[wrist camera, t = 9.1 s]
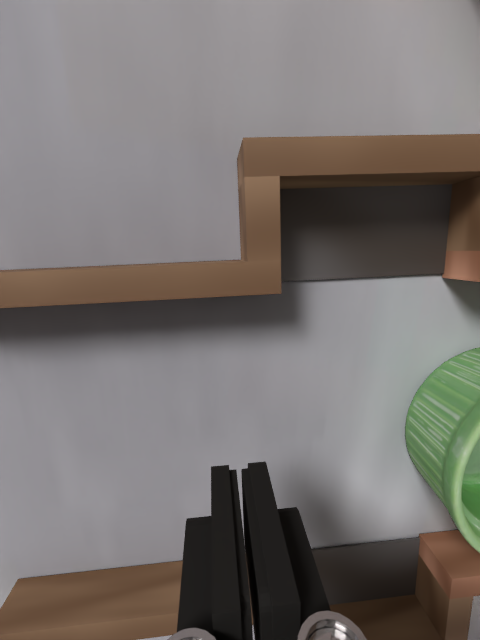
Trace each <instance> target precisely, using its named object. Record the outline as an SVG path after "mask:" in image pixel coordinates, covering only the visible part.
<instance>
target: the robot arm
mask: <svg viewBox="0 0 480 640" xmlns="http://www.w3.org/2000/svg"><path fill="white" fill-rule="evenodd" d="M242 494H243V518H244V536H243V527H242V518H241V509H240V500H239V491H238V482H237V473H236V470H229V465H224V466H213V467H211V516H208V517H198V518H188V519H187V521H186V529H185V541H184V552H183V564H182V576H181V587H180V599H179V611H178V623H177V633H175V634H173V635H172V636H171V637H170V638H169V639H168V640H253V637H252V616H253V624H254V633H255V640H367V639H366V637H365V636H364V634H363V633H362V631H361V630H360V628H359V627H358V626H356V625H355V624H354V623H353V622H352V621H351V620H350V619H349V618H347V617H345V616H343V615H341V614H340V613H336V612H332V611H331V609H330V606H329V603H328V600H327V597H326V594H325V591H324V588H323V585H322V581H321V578H320V575H319V572H318V569H317V566H316V563H315V560H314V557H313V554H312V550H311V547H310V544H309V541H308V538H307V535H306V532H305V529H304V526H303V523H302V519H301V516H300V513H299V511H298V509H297V507H295V508H285V509H277V505H276V501H275V497H274V493H273V489H272V485H271V481H270V477H269V473H268V469H267V465H266V462H257V463H248V469H242ZM244 540H245V545H244ZM245 552H246V554H245ZM246 562H247V563H246ZM247 571H248V572H247ZM248 580H249V581H248ZM249 589H250V590H249ZM250 598H251V600H250ZM251 607H252V613H251Z"/></svg>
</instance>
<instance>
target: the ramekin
mask: <svg viewBox="0 0 480 640" xmlns="http://www.w3.org/2000/svg"><path fill="white" fill-rule="evenodd" d="M405 438H406V444H407V449H408V452H409V455H410V458H411V459H412V461H413V463H414V465H415V466H416V468H417V469H418V471H419V472H420V474H421V475H422V476H423V478H424V479H425V480H426V482H427V483H428V484H429V486H430V487H431V488H432V489H433V491H434V492H435V493H436V495H437V496H438V497H439V498H440V500H441V501H442V502H443V504H444V505H445V506H446V508H447V509H448V511H449V514H450V516H451V517H452V519H453V521H454V523H455V525H456V526H457V528H458V530H459V531H460V533H461V534H462V535H463V537H464V538H465V539H466V541H467V542H468V543H469V544H470V545H471V546H472V547H473V548H474V549H475V550H476V551H478V552H479V553H480V348H475V349H472V350H469V351H466V352H463V353H461V354H459V355H457V356H455V357H453V358H451V359H449V360H448V361H446V362H444V363H443V364H442V365H441V366H440V367H438V368H437V369H436V370H434V371H433V372H432V373H431V374H430V376H429V377H428V378H427V379H426V380H425V381H424V383H423V384H422V385H421V386H420V388H419V389H418V391H417V392H416V394H415V396H414V398H413V400H412V402H411V405H410V407H409V410H408V414H407V419H406V426H405Z"/></svg>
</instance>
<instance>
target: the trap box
mask: <svg viewBox="0 0 480 640" xmlns="http://www.w3.org/2000/svg"><path fill="white" fill-rule="evenodd" d="M237 166H238V192H239V218H240V243H241V260H225V261H202V262H179V263H156V264H133V265H110V266H87V267H65V268H42V269H19V270H0V308H13V307H33V306H52V305H71V304H90V303H110V302H129V301H148V300H167V299H187V298H206V297H225V296H244V295H264V294H281V281H300V280H321V279H341V278H361V277H382V276H402V275H423V274H443V275H442V278H449V279H458V280H467V281H476V282H480V134H455V135H390V136H325V137H259V138H243V140H242V143H241V147H240V151H239V154H238V158H237ZM311 550H312V554H313V557H314V560H315V563H316V566H317V569H318V572H319V575H320V578H321V581H322V585H323V588H324V591H325V594H326V597H327V600H328V603H329V606H330V609H331V611H332V612H336V613H340V614H341V615H343V616H345V617H347V618H349V619H350V620H351V621H352V622H353V623H354V624H355V625H356V626H358V627H359V628H360V630H361V631H362V633H363V634H364V636H365V637H366V639H367V640H467V637H468V630H469V623H470V616H471V609H472V601H473V596H479V595H480V553H479V552H478V551H476V550H475V549H474V548H473V547H472V546H471V545H470V544H469V543H468V542H467V541H466V539H465V538H464V537H463V535H462V534H461V533H460V531H459V530H452V531H443V532H434V533H425V534H419V537H416V538H408V539H399V540H390V541H381V542H372V543H363V544H354V545H345V546H337V547H328V548H319V549H311ZM246 563H247V562H246ZM182 564H183V561H175V562H166V563H157V564H148V565H139V566H130V567H121V568H113V569H104V570H95V571H86V572H77V573H68V574H59V575H50V576H41V577H32V578H23V579H18V580H17V582H16V584H15V585H14V587H13V589H12V590H11V592H10V594H9V595H8V597H7V599H6V601H5V602H4V604H3V606H2V607H1V609H0V640H137V639H144V638H152V637H160V636H168V635H173V634H175V633H177V623H178V611H179V599H180V587H181V576H182ZM247 572H248V571H247ZM248 581H249V580H248ZM249 590H250V589H249ZM250 600H251V598H250ZM251 613H252V607H251ZM252 625H253V616H252Z"/></svg>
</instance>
